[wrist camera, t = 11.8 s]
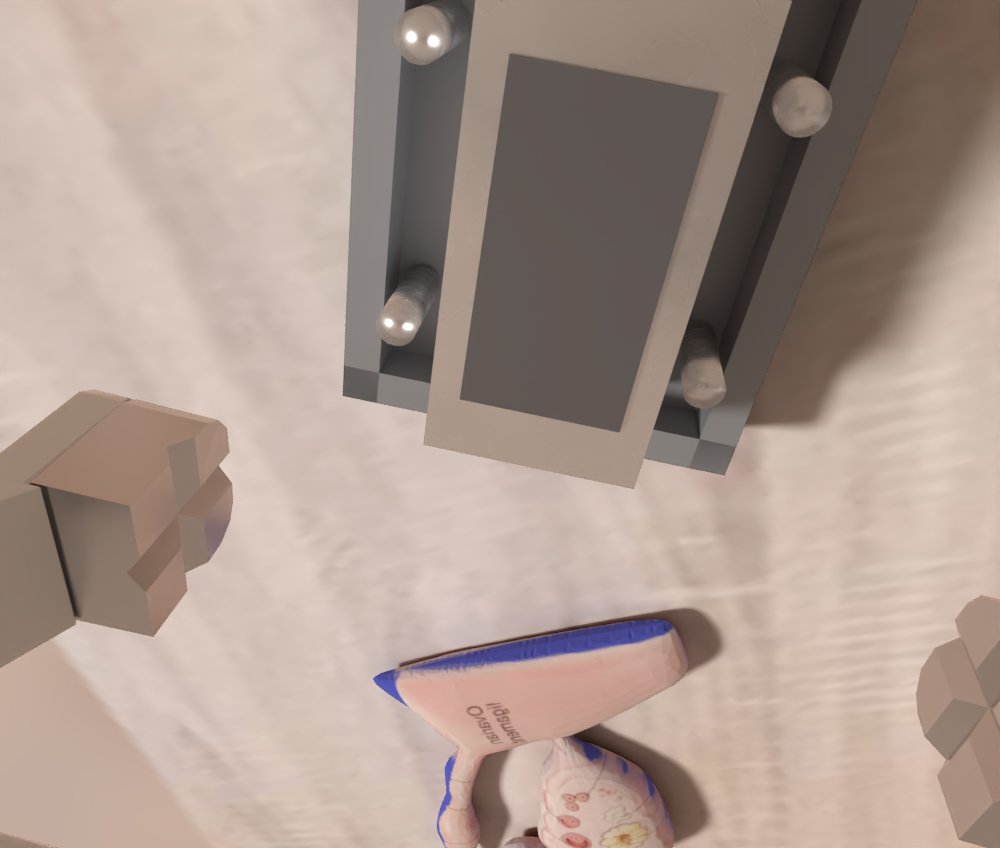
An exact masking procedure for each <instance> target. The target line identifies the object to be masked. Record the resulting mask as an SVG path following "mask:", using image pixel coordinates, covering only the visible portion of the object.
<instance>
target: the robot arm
mask: <svg viewBox="0 0 1000 848" xmlns="http://www.w3.org/2000/svg"><path fill="white" fill-rule="evenodd" d="M228 453H229V444H228V435H227V428H226V427H225V426H224V425H223V424H222V423H221V422H220V421H218V420H215V419H211V418H207V417H203V416H200V415H196V414H192V413H188V412H184V411H180V410H176V409H172V408H168V407H164V406H160V405H156V404H152V403H148V402H144V401H140V400H132V399H129V398H126V397H122V396H118V395H114V394H110V393H105V392H101V391H97V390H89V391H82V392H79V393H78V394H76V395H75V396H74V397H72V398H71V399H70V400H68V401H67V402H66V403H65V404H63V405H62V406H61V407H59V408H58V409H57V410H56V411H54V412H53V413H52V414H50V415H49V416H48V417H46V418H45V419H44V420H43V421H41V422H40V423H39V424H37V425H36V426H35V427H34V428H32V429H31V430H30V431H28V432H27V433H26V434H24V435H23V436H22V437H21V438H19V439H18V440H17V441H15V442H14V443H13V444H12V445H10V446H9V447H8V448H6V449H5V450H4V451H2V452H1V453H0V668H1V667H2V666H4V665H6V664H8V663H10V662H11V661H13V660H15V659H16V658H18V657H20V656H22V655H23V654H25V653H27V652H29V651H30V650H32V649H34V648H36V647H37V646H39V645H40V644H42V643H44V642H46V641H48V640H49V639H51V638H53V637H55V636H56V635H58V634H60V633H62V632H63V631H65V630H67V629H69V628H70V627H72V626H74V625H75V624H76V620H80V621H84V622H89V623H93V624H98V625H102V626H107V627H111V628H116V629H120V630H125V631H130V632H134V633H139V634H143V635H148V636H152V637H154V635H155V634H156V633H157V631H158V630H159V629H160V627H161V626H162V625H163V623H164V622H165V620H166V619H167V618H168V616H169V615H170V614H171V612H172V611H173V610H174V608H175V607H176V605H177V604H178V603H179V601H180V600H181V599H182V597H183V596H184V595H185V593H186V592H187V585H186V577H185V573H186V572H188V571H190V570H192V569H194V568H196V567H198V566H201V565H203V564H205V563H207V562H208V561H209V560H210V559H211V557H212V556H213V554H214V553H215V551H216V550H217V548H218V547H219V546H220V544H221V542H222V540H223V537H224V535H225V532H226V529H227V527H228V524H229V522H230V518H231V511H232V504H233V492H232V483H231V481H230V480H229V479H228V477H227V476H226V475H225V473H224V472H223V471H222V469H221V468H220V467H219V464H220V463H221V462H222V461H223V459H224V458H225V457H226V456H227V454H228ZM955 622H956V625H957V629H958V633H959V636H960V638H957V639H955V640H953V641H950V642H948V643H946V644H943V645H941V646H939V647H936V648H935V649H934V650H933V652H932V653H931V655H930V656H929V658H928V659H927V661H926V663H925V664H924V666H923V667H922V669H921V673H920V677H919V682H918V687H917V692H916V698H917V710H918V716H919V720H920V723H921V726H922V730H923V733H924V736H925V737H926V738H927V739H928V740H929V741H930V743H931V744H932V745H933V746H934V747H935V748H936V749H937V750H938V751H939V752H940V753H941V754H942V755H943V757H944V758H945V759H946V761H945V762H944V764H943V766H942V768H941V770H940V772H939V774H938V775H937V776H938V779H939V782H940V785H941V788H942V791H943V794H944V797H945V800H946V803H947V806H948V809H949V812H950V815H951V818H952V821H953V824H954V827H955V830H956V833H957V836H958V839H959V840H962V841H965V842H969V843H972V844H976V845H980V846H983V847H987V848H1000V599H996V598H992V597H987V596H983V595H981V596H979V597H978V598H976V599H974V600H973V601H971V602H969V603H967V605H966V606H965V607H964V609H963V610H962V611H961V613H960V614H959V615H958V617H957V618H956V619H955ZM0 848H56V847H53V846H49V845H45V844H42V843H38V842H35V841H31V840H27V839H24V838H20V837H16V836H13V835H9V834H5V833H2V832H0Z"/></svg>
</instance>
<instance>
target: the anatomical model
mask: <svg viewBox="0 0 1000 848" xmlns="http://www.w3.org/2000/svg"><path fill="white" fill-rule="evenodd" d="M687 668H688V658H687V653H686V650H685V647H684V644H683V642H682V640H681V638H680V635H679V633H678V632H677V630H676V628H675V627H674V626H673V625H672V624H671V623H670V622H669V621H666V620H658V619H650V620H638V621H628V622H621V623H615V624H609V625H603V626H595V627H589V628H583V629H577V630H572V631H566V632H560V633H555V634H549V635H543V636H538V637H532V638H526V639H521V640H516V641H511V642H506V643H500V644H495V645H490V646H485V647H479V648H473V649H468V650H463V651H459V652H454V653H450V654H446V655H443V656H440V657H436V658H432V659H428V660H424V661H420V662H417V663H413V664H410V665H406V666H403V667H400V668H397V669H393V670H390V671H387V672H384V673H381V674H379V675H377V676H376V677H374V678H373V680H374V681H375V683H376V684H377V685H378V686H379V687H380V688H382V689H383V690H384V691H385V692H387V693H388V694H390V695H391V696H392V697H394V698H395V699H397V700H398V701H400V702H401V703H403V704H404V705H406V706H408V707H409V708H411V709H412V710H414V711H415V712H416V713H418V714H419V715H420V716H421V717H422V718H423V719H425V720H426V721H427V722H428V723H429V724H430V725H431V726H432V727H433V728H434V729H435V730H436V731H437V732H438V733H440V734H441V735H442V736H444V737H445V738H446V739H448V740H449V741H450V742H452V743H453V744H455V745H456V746H457V747H458V750H457V751H456V752H455V753H454V755H453V756H451V757H450V758H449V760H448V762H447V764H446V766H445V778H446V795H445V798H444V800H443V802H442V805H441V808H440V811H439V815H438V819H437V830H438V834H439V836H440V838H441V839H442V842H443V844H444V846H445V848H476V847H477V845H478V842H479V839H480V836H481V831H480V826H479V822H478V820H477V817H476V814H475V812H474V809H473V805H472V803H471V798H472V790H473V785H474V781H475V778H476V776H477V774H478V771H479V769H480V767H481V764H482V762H483V759H484V758H485V756H486V755H488V754H492V753H495V752H500V751H504V750H508V749H512V748H515V747H518V746H521V745H524V744H527V743H531V742H535V741H541V740H548V739H553V744H554V747H553V751H552V752H551V753H550V755H549V756H548V757H547V759H546V761H545V762H544V764H543V767H542V770H541V785H542V794H541V813H540V816H539V820H538V824H537V827H538V835H539V837H517V838H513V839H512V840H510V841H508V842H506V844H505V845H504V847H503V848H672V847H673V842H674V829H673V824H672V821H671V819H670V816H669V814H668V811H667V809H666V806H665V804H664V802H663V800H662V798H661V796H660V794H659V792H658V790H657V788H656V787H655V785H654V783H653V781H652V780H651V779H650V778H649V776H648V775H647V774H646V773H645V772H644V771H643V770H642V769H641V768H640V767H638V766H637V765H635V764H634V763H632V762H630V761H628V760H627V759H625V758H623V757H621V756H619V755H617V754H615V753H613V752H610V751H608V750H606V749H604V748H601V747H599V746H597V745H594V744H591V743H587V742H584V741H581V740H579V739H577V738H575V737H573V736H571V735H573V734H576V733H578V732H581V731H583V730H586V729H588V728H590V727H593V726H595V725H597V724H599V723H601V722H604V721H606V720H608V719H610V718H612V717H614V716H616V715H618V714H620V713H622V712H624V711H626V710H628V709H630V708H632V707H633V706H635V705H637V704H639V703H641V702H643V701H645V700H647V699H648V698H650V697H652V696H654V695H656V694H658V693H660V692H662V691H664V690H666V689H667V688H669V687H671V686H673V685H674V684H676V683H677V682H678V681H679V680H680V679H681V678H682V677H684V675H685V673H686V672H687Z"/></svg>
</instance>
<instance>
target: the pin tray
mask: <svg viewBox="0 0 1000 848" xmlns="http://www.w3.org/2000/svg"><path fill="white" fill-rule="evenodd" d="M791 1H792V3H791V6H790V9H789V12H788V15H787V18H786V21H785V24H784V27H783V31H782V34H781V37H780V40H779V43H778V46H777V49H776V52H775V55H774V58H773V61H772V64H771V68H770V71H769V74H768V77H767V80H766V83H765V86H764V89H763V92H762V95H761V98H760V101H759V105H758V108H757V111H756V114H755V117H754V120H753V123H752V126H751V129H750V132H749V135H748V138H747V142H746V145H745V148H744V151H743V154H742V157H741V160H740V163H739V166H738V169H737V172H736V176H735V179H734V182H733V185H732V188H731V191H730V194H729V197H728V200H727V203H726V206H725V209H724V213H723V216H722V219H721V222H720V225H719V228H718V231H717V234H716V237H715V240H714V243H713V246H712V250H711V253H710V256H709V259H708V262H707V265H706V268H705V271H704V274H703V277H702V280H701V284H700V287H699V290H698V293H697V296H696V299H695V302H694V305H693V308H692V311H691V314H690V317H689V321H688V324H687V327H686V330H685V333H684V336H683V339H682V342H681V345H680V348H679V351H678V354H677V358H676V361H675V364H674V367H673V370H672V373H671V376H670V379H669V382H668V385H667V388H666V392H665V395H664V398H663V401H662V404H661V407H660V410H659V413H658V416H657V419H656V422H655V425H654V429H653V432H652V435H651V438H650V441H649V444H648V447H647V450H646V453H645V456H644V459H648V460H653V461H658V462H663V463H667V464H672V465H677V466H682V467H687V468H691V469H696V470H701V471H706V472H711V473H715V474H720V475H725V473H726V471H727V468H728V466H729V463H730V461H731V458H732V456H733V453H734V451H735V448H736V446H737V443H738V441H739V438H740V436H741V433H742V431H743V429H744V426H745V424H746V421H747V419H748V416H749V414H750V411H751V409H752V406H753V404H754V401H755V399H756V396H757V394H758V392H759V389H760V387H761V384H762V382H763V379H764V377H765V374H766V372H767V369H768V367H769V364H770V362H771V359H772V357H773V354H774V352H775V350H776V347H777V345H778V342H779V340H780V337H781V335H782V332H783V330H784V327H785V325H786V322H787V320H788V317H789V315H790V313H791V310H792V308H793V305H794V303H795V300H796V298H797V295H798V293H799V290H800V288H801V285H802V283H803V280H804V278H805V275H806V273H807V271H808V268H809V266H810V263H811V261H812V258H813V256H814V253H815V251H816V248H817V246H818V243H819V241H820V238H821V236H822V234H823V231H824V229H825V226H826V224H827V221H828V219H829V216H830V214H831V211H832V209H833V206H834V204H835V201H836V199H837V196H838V194H839V192H840V189H841V187H842V184H843V182H844V179H845V177H846V174H847V172H848V169H849V167H850V164H851V162H852V159H853V157H854V155H855V152H856V150H857V147H858V145H859V142H860V140H861V137H862V135H863V132H864V130H865V127H866V125H867V122H868V120H869V117H870V115H871V113H872V110H873V108H874V105H875V103H876V100H877V98H878V95H879V93H880V90H881V88H882V85H883V83H884V80H885V78H886V76H887V73H888V71H889V68H890V66H891V63H892V61H893V58H894V56H895V53H896V51H897V48H898V46H899V43H900V41H901V39H902V36H903V34H904V31H905V29H906V26H907V24H908V21H909V19H910V16H911V14H912V11H913V9H914V6H915V4H916V1H917V0H791ZM474 8H475V0H359V3H358V28H357V53H356V78H355V103H354V128H353V153H352V178H351V204H350V229H349V254H348V279H347V304H346V329H345V354H344V379H343V396H346V397H351V398H356V399H361V400H365V401H370V402H375V403H380V404H384V405H389V406H394V407H399V408H404V409H408V410H413V411H418V412H423V413H427V410H428V402H429V393H430V384H431V376H432V367H433V359H434V350H435V342H436V333H437V324H438V316H439V307H440V299H441V290H442V282H443V273H444V265H445V256H446V247H447V239H448V230H449V222H450V213H451V205H452V196H453V187H454V179H455V170H456V162H457V153H458V145H459V136H460V127H461V119H462V110H463V102H464V93H465V85H466V76H467V68H468V59H469V50H470V42H471V33H472V25H473V16H474Z"/></svg>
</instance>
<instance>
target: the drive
mask: <svg viewBox="0 0 1000 848" xmlns="http://www.w3.org/2000/svg"><path fill="white" fill-rule="evenodd" d="M791 3H792V1H791V0H475V8H474V16H473V25H472V33H471V42H470V50H469V59H468V68H467V76H466V85H465V93H464V102H463V110H462V119H461V127H460V136H459V145H458V153H457V162H456V170H455V179H454V187H453V196H452V205H451V213H450V222H449V230H448V239H447V247H446V256H445V265H444V273H443V282H442V290H441V299H440V307H439V316H438V324H437V333H436V342H435V350H434V359H433V367H432V376H431V384H430V393H429V402H428V410H427V419H426V427H425V436H424V444H423V445H427V446H432V447H437V448H441V449H446V450H451V451H456V452H460V453H465V454H470V455H475V456H479V457H484V458H489V459H494V460H498V461H503V462H508V463H513V464H517V465H522V466H527V467H532V468H536V469H541V470H546V471H551V472H555V473H560V474H565V475H569V476H574V477H579V478H584V479H588V480H593V481H598V482H603V483H607V484H612V485H617V486H622V487H626V488H631V489H634V487H635V484H636V481H637V478H638V475H639V472H640V469H641V466H642V462H643V459H644V456H645V453H646V450H647V447H648V444H649V441H650V438H651V435H652V432H653V429H654V425H655V422H656V419H657V416H658V413H659V410H660V407H661V404H662V401H663V398H664V395H665V392H666V388H667V385H668V382H669V379H670V376H671V373H672V370H673V367H674V364H675V361H676V358H677V354H678V351H679V348H680V345H681V342H682V339H683V336H684V333H685V330H686V327H687V324H688V321H689V317H690V314H691V311H692V308H693V305H694V302H695V299H696V296H697V293H698V290H699V287H700V284H701V280H702V277H703V274H704V271H705V268H706V265H707V262H708V259H709V256H710V253H711V250H712V246H713V243H714V240H715V237H716V234H717V231H718V228H719V225H720V222H721V219H722V216H723V213H724V209H725V206H726V203H727V200H728V197H729V194H730V191H731V188H732V185H733V182H734V179H735V176H736V172H737V169H738V166H739V163H740V160H741V157H742V154H743V151H744V148H745V145H746V142H747V138H748V135H749V132H750V129H751V126H752V123H753V120H754V117H755V114H756V111H757V108H758V105H759V101H760V98H761V95H762V92H763V89H764V86H765V83H766V80H767V77H768V74H769V71H770V68H771V64H772V61H773V58H774V55H775V52H776V49H777V46H778V43H779V40H780V37H781V34H782V31H783V27H784V24H785V21H786V18H787V15H788V12H789V9H790V6H791Z"/></svg>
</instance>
